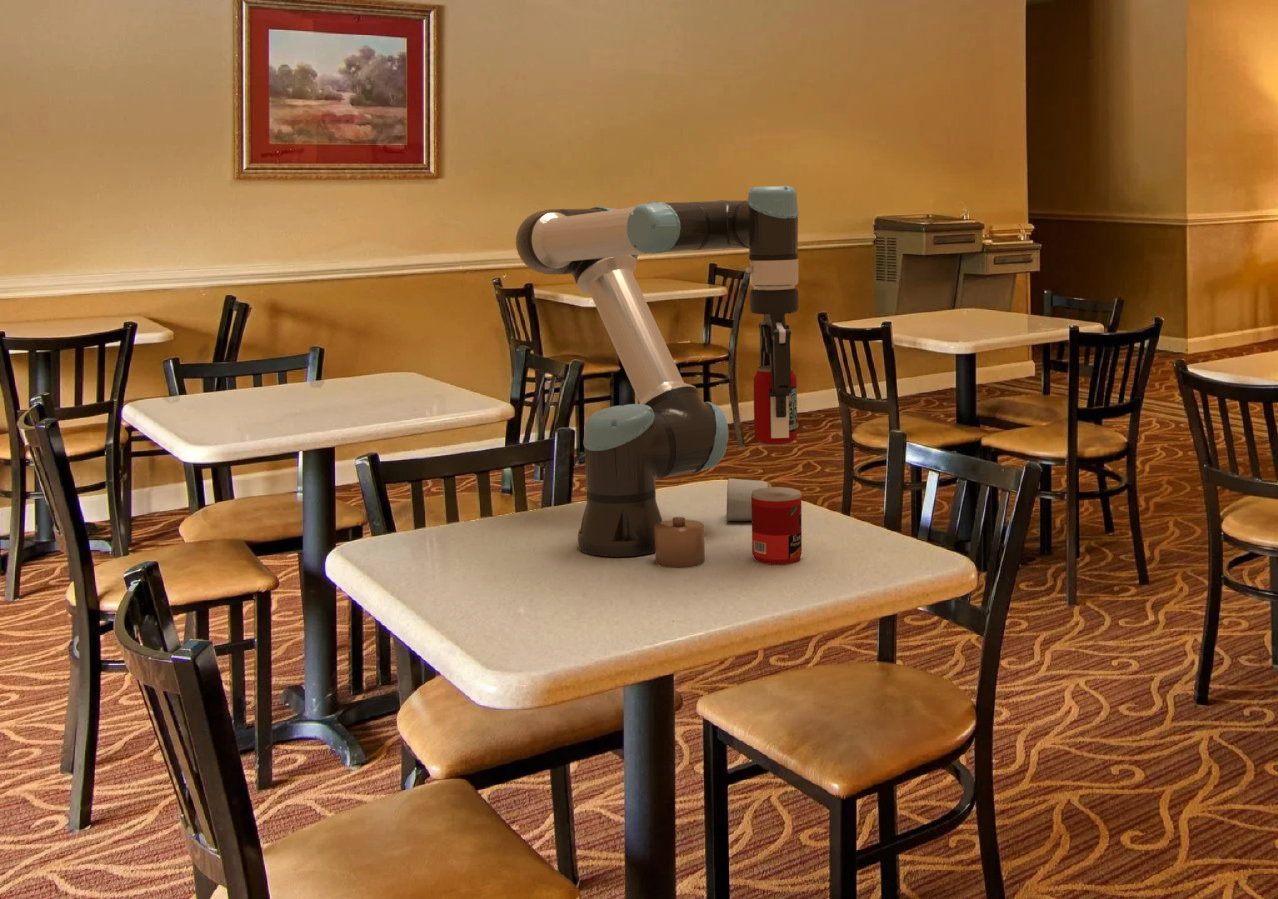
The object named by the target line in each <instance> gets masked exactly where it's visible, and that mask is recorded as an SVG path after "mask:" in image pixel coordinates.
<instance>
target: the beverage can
mask: <svg viewBox="0 0 1278 899" xmlns="http://www.w3.org/2000/svg"><path fill="white" fill-rule="evenodd" d="M797 382H798V381H797V376H796V374H795V372H794V370H793V367H792V366H791V388H792V392H791V394H789V438H771V400H770V397H768V393H769V392H772V383H771V370H770V366H761V367H760V366H758V367H757V371H756V373H755V374H754V377H753V422H754V423H753V424H754V426H753V428H754V430H753V431H754V433H753V434H754V439H755V440H756V441H758V443H760V444H761V445H764V446H783V445H784V446H786V445H790V444H791V443H792V442H793V441H795V440H796V439H797V438H798V392H797V390H798V389H797V388H798V387H797V386H798V385H797V384H798V383H797Z"/></svg>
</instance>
